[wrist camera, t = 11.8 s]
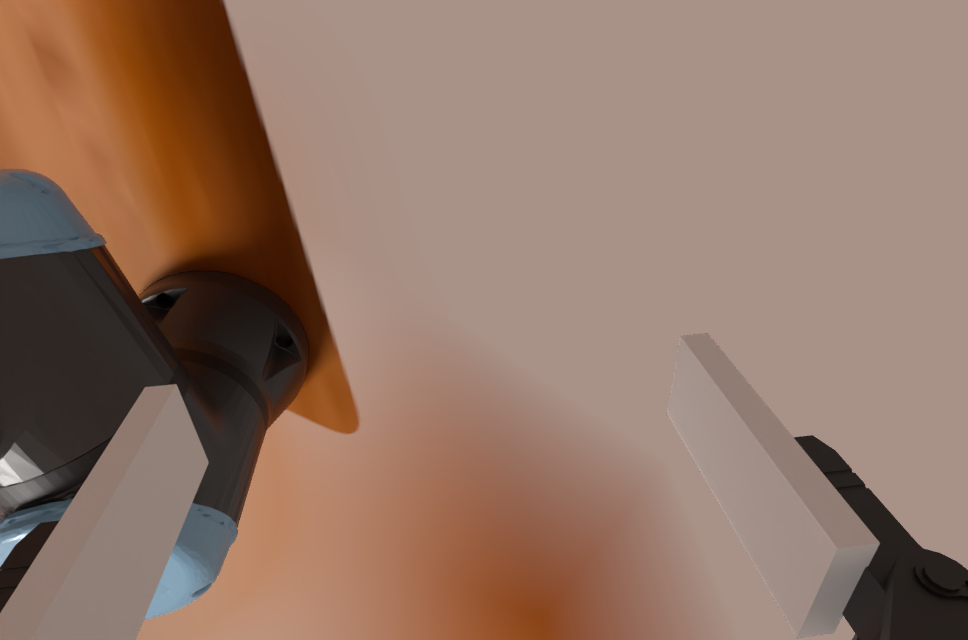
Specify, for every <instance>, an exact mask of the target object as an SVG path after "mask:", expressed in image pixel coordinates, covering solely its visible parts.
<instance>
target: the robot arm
mask: <svg viewBox="0 0 968 640" xmlns="http://www.w3.org/2000/svg"><path fill="white" fill-rule="evenodd" d="M104 244H106V241H105V239H104V238H103V237H102V236H101V235H99V234H96V233H95V232H94V230H93V229H92V228H91V226H90V225H89V224H88V223H87V221H86V220H85V219H84V217H83V216H82V215H81V214H80V212H79V211H78V210H77V208H76V207H75V206H74V204H73V203H72V202H71V200H70V199H69V198H68V196H67V195H66V193H65V192H64V191H63V190H62V189H61V188H60V187H59V186H58V185H57V184H56V183H55V182H54V181H52V180H51V179H49V178H48V177H46V176H44V175H42V174H39V173H36V172H33V171H29V170H23V169H3V170H0V640H136V638H137V635H138V633H139V631H140V628H141V626H142V623H143V621H144V620H145V619H149V618H154V617H158V616H161V615H165V614H168V613H171V612H173V611H176V610H178V609H181V608H183V607H185V606H186V605H188V604H190V603H192V602H193V601H195V600H196V599H198V598H199V597H200V596H201V595H203V594H204V593H205V592H206V591H207V590H208V589H209V588H210V587H211V585H212V583H213V582H215V580H216V578H217V576H218V575H219V573H220V571H221V568H222V565H223V562H224V560H225V557H226V555H227V552H228V550H229V548H230V546H231V545H232V543H233V542H234V541H235V540H236V537H237V534H238V529H237V528H238V523H239V520H240V517H241V513H242V510H243V507H244V503H245V500H246V496H247V493H248V490H249V486H250V483H251V480H252V476H253V473H254V470H255V466H256V463H257V460H258V456H259V453H260V449H261V446H262V443H263V440H264V436H265V433H266V430H267V429H268V428H269V427H270V426H271V425H272V424H273V422H274V421H275V420H276V419H277V418H278V417H279V416H280V415H281V414H282V413H283V411H285V410H286V408H287V407H288V406H289V405H290V404H291V403H292V402H293V400H294V399H295V398H296V396H297V395H298V393H299V391H300V389H301V387H302V384H303V381H304V378H305V374H306V370H307V367H308V362H309V346H308V341H307V337H306V334H305V331H304V329H303V327H302V325H301V323H300V321H299V320H298V318H297V317H296V315H295V314H294V313H293V311H292V310H291V309H290V308H289V307H288V306H287V305H286V304H285V303H284V302H283V301H282V300H281V299H280V298H279V297H277V296H276V295H275V294H273V293H272V292H271V291H269V290H267V289H266V288H264V287H262V286H260V285H259V284H256V283H254V282H252V281H250V280H247V279H245V278H242V277H239V276H235V275H232V274H227V273H222V272H213V271H192V272H185V273H179V274H176V275H172V276H169V277H166V278H164V279H162V280H160V281H158V282H156V283H154V284H153V285H151V286H149V287H148V288H147V289H146V290H144V291H143V292H142V293H141V294H140V295H139V297H138V296H137V294H136V293H135V291H134V289H133V288H132V286H131V285H130V283H129V282H128V280H127V279H126V277H125V276H124V274H123V273H122V271H121V270H120V268H119V266H118V265H117V263H116V262H115V260H114V259H113V257H112V256H111V254H110V253H109V251H108V250H107V248H106V247H105V245H104ZM667 415H668V417H669V418H670V420H671V422H672V424H673V425H674V427H675V429H676V430H677V432H678V434H679V436H680V437H681V439H682V441H683V443H684V444H685V446H686V448H687V449H688V451H689V453H690V455H691V456H692V458H693V460H694V461H695V463H696V465H697V467H698V468H699V470H700V472H701V474H702V475H703V477H704V479H705V481H706V482H707V484H708V486H709V487H710V489H711V491H712V493H713V494H714V496H715V498H716V500H717V501H718V503H719V505H720V507H721V508H722V510H723V512H724V513H725V515H726V517H727V519H728V520H729V522H730V524H731V526H732V527H733V529H734V531H735V532H736V534H737V536H738V538H739V539H740V541H741V543H742V545H743V546H744V548H745V550H746V551H747V553H748V555H749V556H750V558H751V560H752V562H753V564H754V565H755V567H756V569H757V570H758V572H759V574H760V575H761V577H762V579H763V581H764V583H765V584H766V586H767V588H768V589H769V591H770V593H771V595H772V596H773V598H774V600H775V602H776V603H777V605H778V607H779V608H780V610H781V612H782V614H783V615H784V617H785V619H786V621H787V622H788V624H789V626H790V628H791V629H792V631H793V632H794V634H795V636H796V638H803V637H810V636H817V635H824V634H832V633H834V632H835V630H836V628H837V626H838V624H839V622H840V620H841V619H842V617H843V616H844V617H845V619H846V620H847V621H848V623H849V624H850V626H851V627H852V629H853V630H854V632H855V635H854V637H853V639H852V640H968V570H967V569H966V568H964V567H963V566H962V565H961V564H959V563H958V562H957V561H955V560H952V559H951V558H949V557H947V556H945V555H943V554H941V553H938V552H933V551H930V550H926V549H923V548H922V547H921V546H920V545H918V543H917V542H916V541H915V540H914V539H913V538H912V537H911V536H910V534H909V533H908V532H907V531H906V530H905V529H904V528H903V526H902V525H901V524H900V523H899V522H898V521H897V520H896V519H895V518H894V516H893V515H892V514H891V513H890V512H889V511H888V510H887V508H886V507H885V506H884V505H883V504H882V503H881V502H880V500H879V499H878V498H877V497H876V496H875V495H874V494H873V493H872V491H871V490H870V489H869V488H866V487H865V484H864V482H863V481H862V480H861V479H860V478H859V477H858V476H857V475H856V473H852V469H851V468H850V467H849V465H847V463H846V462H845V461H844V460H843V459H842V458H841V457H840V455H839V454H838V453H837V452H836V451H835V450H834V449H832V448H831V447H829V446H827V445H826V444H825V443H823V442H822V441H820V440H819V439H817V438H816V437H814V436H803V437H795V438H793V436H792V435H791V434H790V433H789V432H788V430H787V429H786V428H785V427H784V425H783V424H782V423H781V422H780V421H779V419H778V418H777V417H776V416H775V414H774V413H773V412H772V411H771V410H770V409H769V407H768V406H767V405H766V403H765V402H764V401H763V400H762V399H761V397H760V396H759V395H758V394H757V393H756V391H755V390H754V389H753V388H752V386H751V385H750V384H749V383H748V382H747V380H746V379H745V378H744V377H743V375H742V374H741V373H740V372H739V371H738V369H737V368H736V367H735V366H734V365H733V363H732V362H731V361H730V360H729V359H728V357H727V356H726V355H725V354H724V352H723V351H722V350H721V349H720V347H719V346H718V345H717V344H716V343H715V341H714V340H713V339H712V338H711V337H710V335H709V334H708V333H704V334H693V335H683V336H680V340H679V346H678V352H677V358H676V364H675V370H674V375H673V382H672V387H671V393H670V399H669V404H668V410H667Z"/></svg>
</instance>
